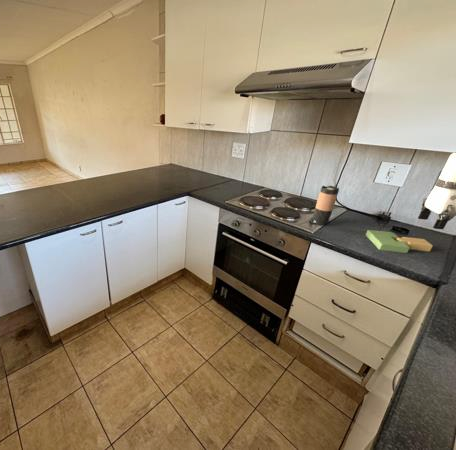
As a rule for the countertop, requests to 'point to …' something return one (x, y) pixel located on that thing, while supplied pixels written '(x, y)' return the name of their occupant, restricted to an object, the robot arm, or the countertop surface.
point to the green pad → (387, 241)
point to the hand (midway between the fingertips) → (429, 223)
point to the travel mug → (325, 204)
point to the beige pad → (416, 243)
